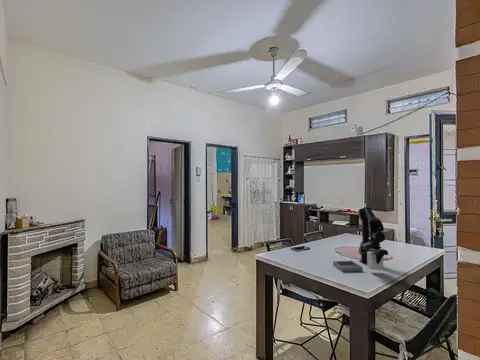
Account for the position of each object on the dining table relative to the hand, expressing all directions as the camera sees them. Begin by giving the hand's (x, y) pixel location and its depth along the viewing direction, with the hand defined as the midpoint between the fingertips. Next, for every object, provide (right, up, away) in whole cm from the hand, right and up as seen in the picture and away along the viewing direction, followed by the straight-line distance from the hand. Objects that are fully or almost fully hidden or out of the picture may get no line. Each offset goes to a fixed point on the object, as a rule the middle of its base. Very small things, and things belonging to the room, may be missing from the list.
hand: (375, 262), depth 171 cm
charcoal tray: (-15, -7, +9) cm, 18 cm away
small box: (0, -4, 0) cm, 4 cm away
